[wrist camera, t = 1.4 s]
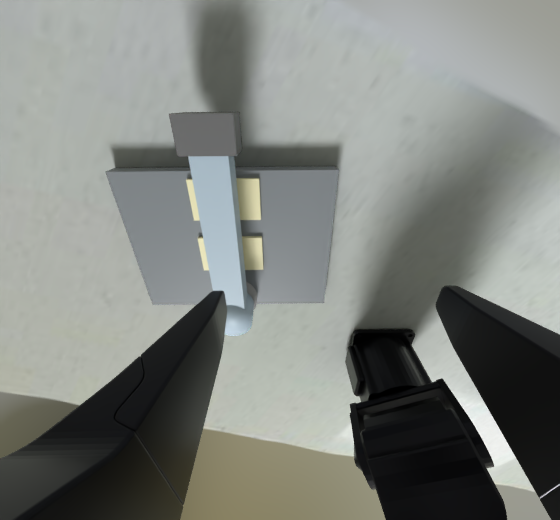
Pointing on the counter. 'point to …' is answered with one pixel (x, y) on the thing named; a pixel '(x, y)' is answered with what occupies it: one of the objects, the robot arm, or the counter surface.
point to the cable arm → (218, 204)
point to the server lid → (254, 227)
